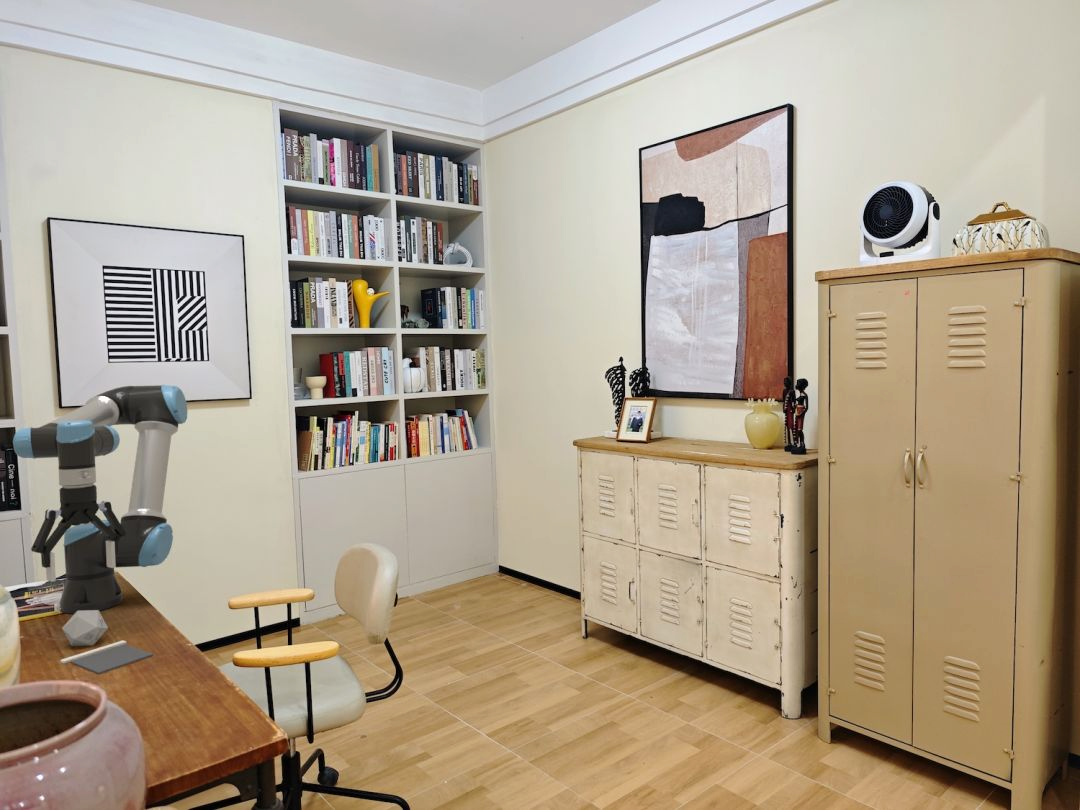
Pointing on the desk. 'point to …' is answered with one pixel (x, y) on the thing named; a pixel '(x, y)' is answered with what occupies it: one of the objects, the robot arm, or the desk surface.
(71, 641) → the die
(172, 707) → the desk surface
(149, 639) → the desk surface
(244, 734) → the desk surface
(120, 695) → the desk surface
